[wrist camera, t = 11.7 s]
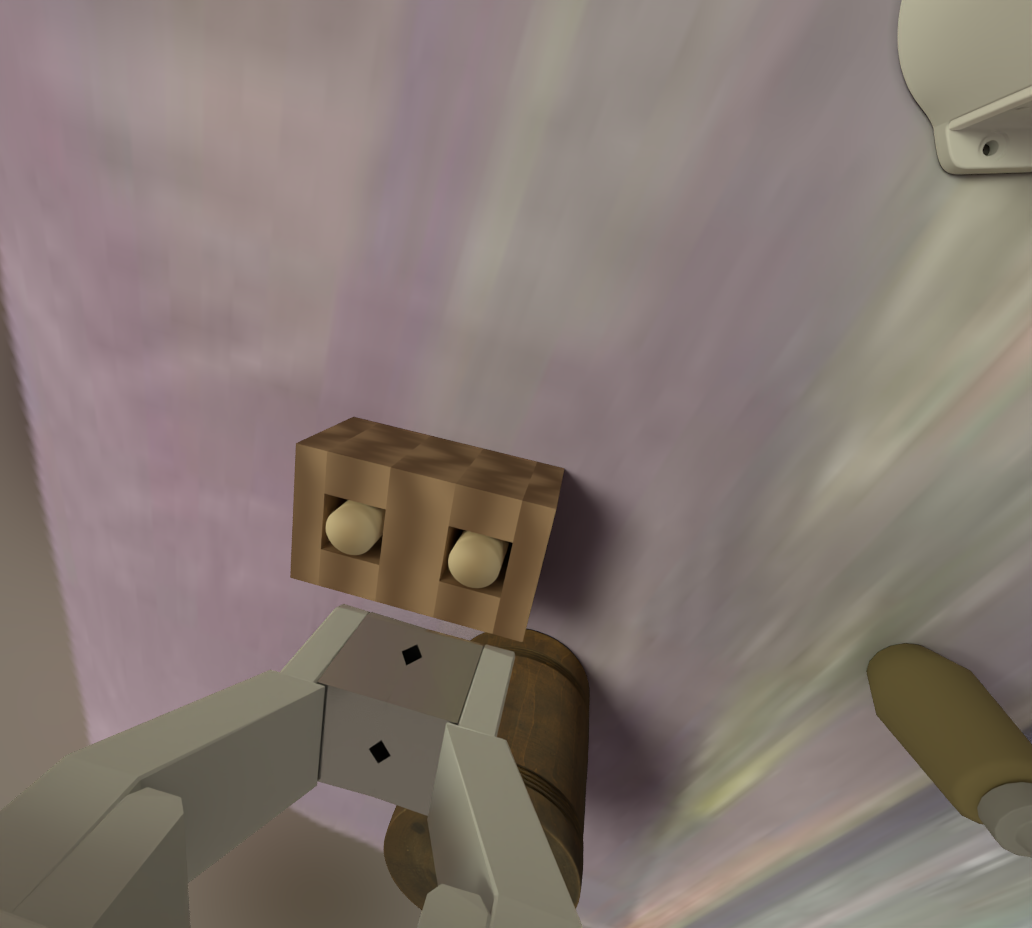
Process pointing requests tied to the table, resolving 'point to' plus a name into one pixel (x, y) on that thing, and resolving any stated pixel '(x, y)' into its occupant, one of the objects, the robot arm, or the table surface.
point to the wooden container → (522, 763)
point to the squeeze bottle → (958, 739)
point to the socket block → (423, 521)
